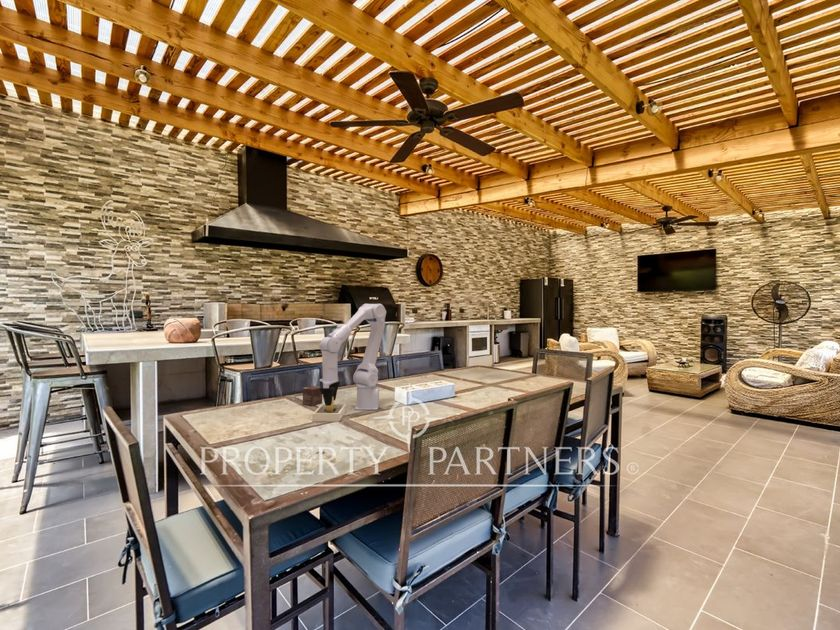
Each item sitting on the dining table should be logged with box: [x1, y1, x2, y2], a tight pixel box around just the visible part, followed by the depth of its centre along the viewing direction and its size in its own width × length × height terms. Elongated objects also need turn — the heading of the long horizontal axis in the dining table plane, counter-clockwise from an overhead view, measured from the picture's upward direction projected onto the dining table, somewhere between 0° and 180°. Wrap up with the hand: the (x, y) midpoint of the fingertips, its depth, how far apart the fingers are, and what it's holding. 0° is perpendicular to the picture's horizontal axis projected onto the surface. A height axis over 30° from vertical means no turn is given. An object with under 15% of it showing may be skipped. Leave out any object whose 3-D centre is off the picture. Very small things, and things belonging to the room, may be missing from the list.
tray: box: [312, 403, 347, 423], centre depth 158 cm, size 10×14×3 cm
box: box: [302, 385, 323, 407], centre depth 177 cm, size 6×6×7 cm
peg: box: [326, 396, 335, 412], centre depth 158 cm, size 3×3×7 cm
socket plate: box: [318, 407, 342, 413], centre depth 158 cm, size 8×8×2 cm
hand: (330, 402), depth 158 cm, fingers open, 7 cm apart
